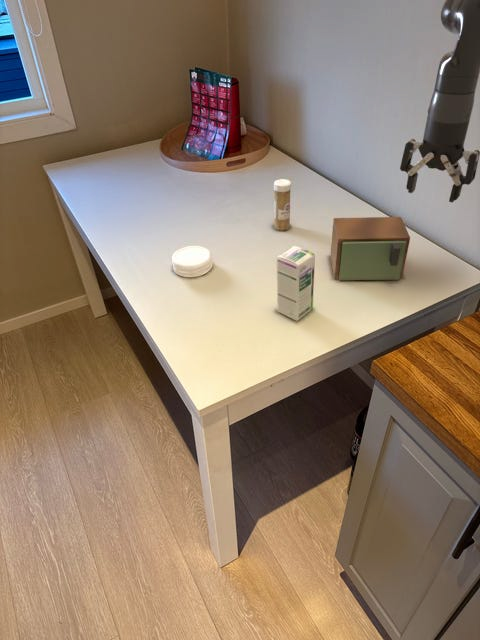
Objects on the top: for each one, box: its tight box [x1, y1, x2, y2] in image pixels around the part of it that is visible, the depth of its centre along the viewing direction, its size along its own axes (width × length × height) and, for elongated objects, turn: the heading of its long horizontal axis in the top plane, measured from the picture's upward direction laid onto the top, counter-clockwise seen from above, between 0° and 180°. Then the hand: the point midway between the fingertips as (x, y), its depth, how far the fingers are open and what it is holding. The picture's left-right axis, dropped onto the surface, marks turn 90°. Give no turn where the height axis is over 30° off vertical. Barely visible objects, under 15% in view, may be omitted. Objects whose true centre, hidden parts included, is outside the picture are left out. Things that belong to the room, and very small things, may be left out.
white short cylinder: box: [171, 245, 213, 278], centre depth 122 cm, size 10×10×4 cm
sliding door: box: [338, 241, 406, 281], centre depth 111 cm, size 14×3×10 cm, turn 87°
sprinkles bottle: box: [273, 178, 292, 231], centre depth 133 cm, size 5×5×14 cm
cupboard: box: [329, 216, 411, 280], centre depth 116 cm, size 16×10×11 cm, turn 87°
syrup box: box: [276, 245, 316, 322], centre depth 103 cm, size 6×6×14 cm
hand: (431, 196), depth 101 cm, fingers open, 8 cm apart
